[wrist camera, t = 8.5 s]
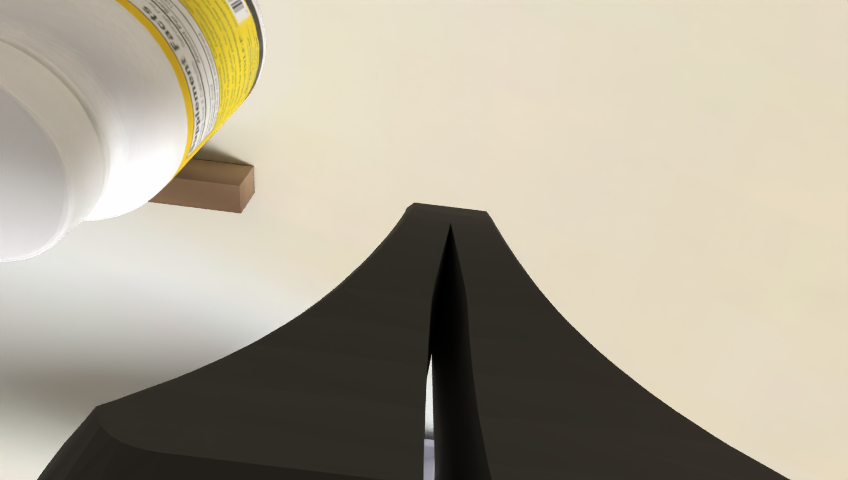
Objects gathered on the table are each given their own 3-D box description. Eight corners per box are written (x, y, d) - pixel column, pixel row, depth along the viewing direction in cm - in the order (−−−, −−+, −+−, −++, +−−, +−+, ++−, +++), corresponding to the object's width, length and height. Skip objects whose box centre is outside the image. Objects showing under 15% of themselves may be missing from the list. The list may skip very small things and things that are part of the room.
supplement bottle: (110, 105, 20) (-148, 276, 12) (77, -81, 17) (-294, -28, 9) (274, 124, 20) (131, 310, 12) (268, -59, 17) (74, 14, 9)
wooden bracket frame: (256, 241, 22) (243, 263, 21) (-55, 202, 22) (-87, 222, 21) (237, -240, 15) (216, -250, 14) (-223, -298, 15) (-286, -313, 14)
